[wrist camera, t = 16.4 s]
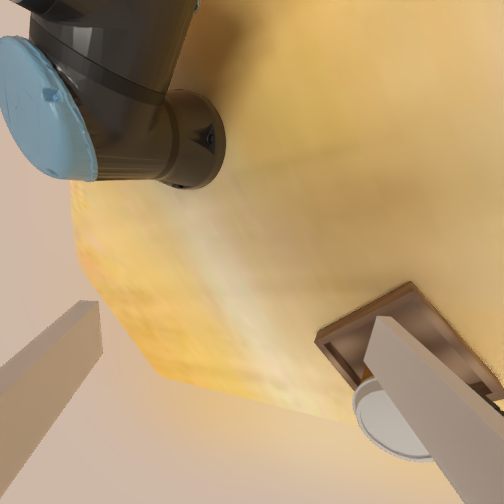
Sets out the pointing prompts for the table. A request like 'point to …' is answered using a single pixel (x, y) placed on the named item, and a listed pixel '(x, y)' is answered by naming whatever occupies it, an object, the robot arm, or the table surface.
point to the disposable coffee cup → (385, 421)
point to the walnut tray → (418, 325)
